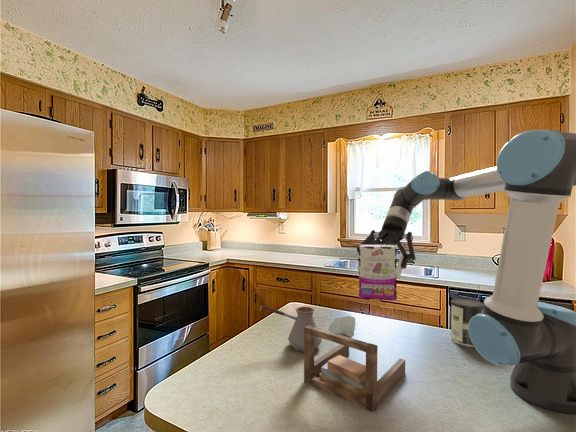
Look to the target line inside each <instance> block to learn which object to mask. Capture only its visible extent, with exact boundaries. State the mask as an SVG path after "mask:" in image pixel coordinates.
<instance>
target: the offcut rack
mask: <svg viewBox="0 0 576 432" xmlns="http://www.w3.org/2000/svg"><path fill="white" fill-rule="evenodd" d="M314 336H316V337H319V338H322V340H326V341H330V342H333V343H336V344H339V345H336V346H335V347H334V348H332V349H331V350H329V351H328V352H326V353H324V354H323V355H322V356H320V357H318V358H316V359H315V350H314ZM378 346H379V345H377V344H375V343H374V344H373V343H371V342H370V343H369V342H366V341H362V340H359V339H356V338H353V337H351V338H349V337H346V336H343V335H339V334H336V333H332V332H329V331H328V330H325V329H322V328H318V327H317V328H316V327H313V326H310V325H308V326H306V327H304V352H303V382H304V383H306V384H307V385H308V384H309V385H312V386H314V387H316V388H319V389H321V390H323V391H326V392H328V393H330V394H331V395H333V396H337V397H339V398H341V399H342V400H346V401H348V402H350V403H353V404H354V405H356V406H359V407H361V408H364V409H365V410H366V411H370V412H371V413H374V412H376V410H377V409H378V406H379V405H380V404H381V403H382V402H383V400H385V398H386V397H387V395H389V393H390V392H391V391H392V390H393V389H394V388H395V387H396V386H397V384H398V383H399V382H400V381H401V380H402V378H403V377H404V376H405V375H406V359H403V358H399V359H397V361H395V363H394V364H393V365H392V366H391V367H390V368H389V369H388V370H386V372H385V373H384V374H383V375H382V376H381V377H380V378H379V379H378ZM350 348H351V349H355V350H358V351H361V352H364V353H365V366H366V385H365V397H363V396H361V395H359V394H356V393H354V392H351V391H349V390H347V389H344V388H342V387H339V386H337V385H335V384H332V383H330V382H327V381H325V380H323V379H320V378H319V374H320V373H321V367H322V366H323V365H325V364H326V363H327V362H328V361H329V360H331V359H332V358H334V357H336V356H338V355H341V356H343V357H346V358H348V356H350Z"/></svg>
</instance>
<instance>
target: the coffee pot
mask: <svg viewBox="0 0 576 432" xmlns="http://www.w3.org/2000/svg"><path fill="white" fill-rule="evenodd" d="M262 309H265V310H266V311H270V312H272V313H274V314H277V315H280V316H284V317H287V318H289V319H292V320H295V321H294V323H293V326H292V327H291V330H290V332H289V334H288V338H287V340H288V342H289V344H290V346H292V347H293V348H294V349H295V350H297V351H298V352H303V353H304V327H306V326H308V325H310V326H313V327H316V328H318V326H317V323H316V320H315V317H314V312H315V308H313V307H310V306H298V307H297V308H295V312H296V313H297V316H293V315H290V314H287V313H285V312H283V311H281V310H278V309H276V308H272V307H269V306H266V305H263V304H262V305H260V307H259V312H261V311H262ZM322 341H323V338H319V337H316V336H314V351H315V350H317V348H318V347H319V346H320V345H321V343H322Z"/></svg>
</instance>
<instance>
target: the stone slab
mask: <svg viewBox="0 0 576 432" xmlns="http://www.w3.org/2000/svg"><path fill="white" fill-rule="evenodd" d="M355 324H356V318H355V317H354V316H351V315H347V316H342V317H341V316H340V317H338V318H335V319H334V320H333V321H332V323H330V324H329V327H328V329H327V331H329V332H332V333H336V334H339V335H343V336H346V337H349V338H353V337H354V335H355V334H354V333H355V327H356V326H355Z"/></svg>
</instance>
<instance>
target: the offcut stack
mask: <svg viewBox="0 0 576 432" xmlns="http://www.w3.org/2000/svg"><path fill="white" fill-rule="evenodd" d="M318 378H320V379H323V380H325V381H327V382H330V383H332V384H335V385H337V386H339V387H342V388H344V389H347V390H349V391H351V392H354V393H356V394H359V395H361V396H363V397H365V385H366V364H365V365H364V364H362V363H360V362H357V361H355V360H353V359H350V358H348V357H343V356H341V355H338V356H336V357H334V358H332V359H331V360H329V361H328V362H327V363H326V364H325V365H323V366H322V367H321V373H320V374H319V377H318Z"/></svg>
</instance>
